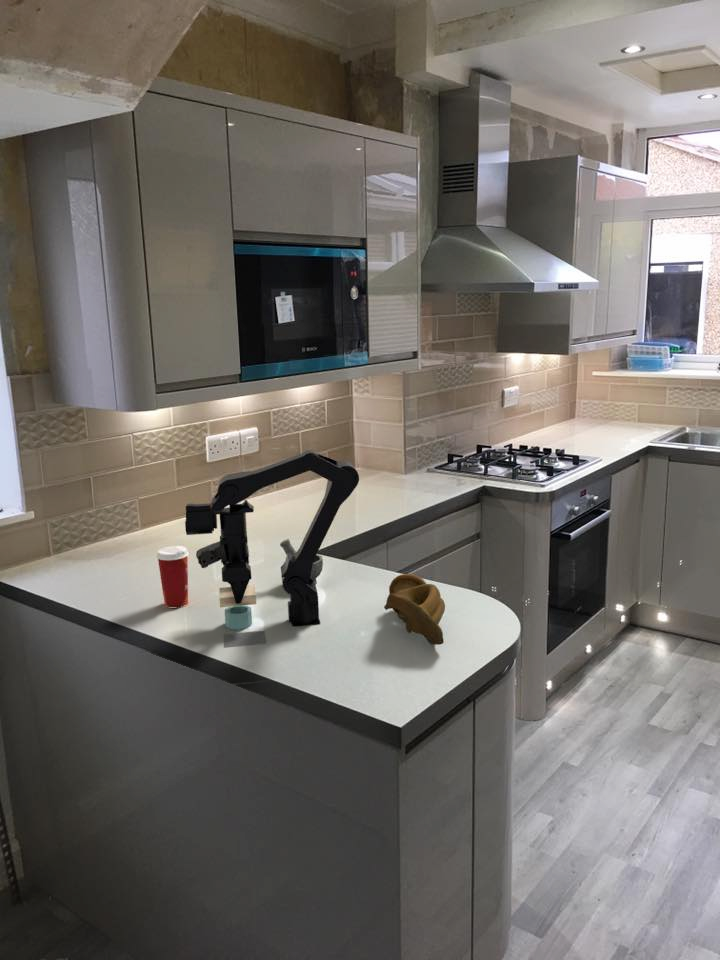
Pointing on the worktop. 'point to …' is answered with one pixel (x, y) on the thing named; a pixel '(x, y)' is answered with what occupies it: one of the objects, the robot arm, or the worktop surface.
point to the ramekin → (238, 617)
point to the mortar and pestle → (316, 564)
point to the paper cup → (174, 575)
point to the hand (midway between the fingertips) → (238, 597)
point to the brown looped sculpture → (417, 606)
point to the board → (229, 600)
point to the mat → (244, 639)
